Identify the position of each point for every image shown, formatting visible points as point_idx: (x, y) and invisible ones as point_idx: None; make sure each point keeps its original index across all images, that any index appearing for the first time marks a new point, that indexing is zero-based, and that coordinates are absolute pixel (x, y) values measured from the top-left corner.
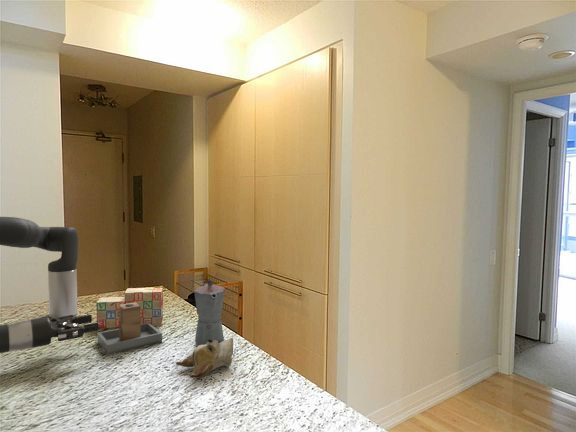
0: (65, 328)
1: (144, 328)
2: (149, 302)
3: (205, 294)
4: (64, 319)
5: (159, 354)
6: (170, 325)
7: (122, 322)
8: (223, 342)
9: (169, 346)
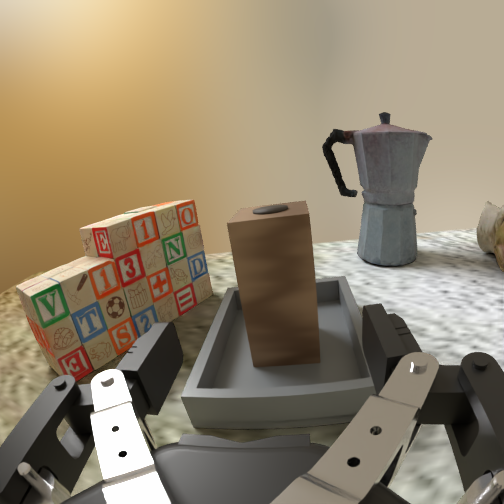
0: (398, 497)
1: (235, 307)
2: (176, 239)
3: (416, 133)
4: (130, 455)
5: (428, 309)
6: (234, 284)
7: (296, 285)
8: (493, 210)
9: (381, 294)
